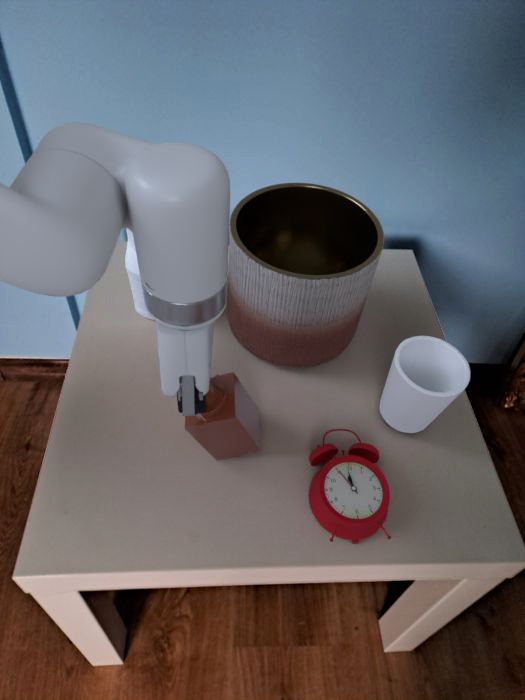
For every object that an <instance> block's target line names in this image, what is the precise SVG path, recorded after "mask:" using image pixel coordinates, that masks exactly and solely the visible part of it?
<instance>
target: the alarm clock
mask: <svg viewBox="0 0 525 700" xmlns="http://www.w3.org/2000/svg"><path fill="white" fill-rule="evenodd" d="M340 431H341V432H348V433H351V434H353V435H354V436H355V438H356V439H357V440H358V442H355V443H353V444H351V445H350V447H349V448H348V452H347V454H345V449H341V450H340V453H341V454H342V455H339V456H337V455H338V453H339V449H338V447H337V446H336V444H334V443H325V441H326V440H325V439H326V436H327V435H328V434H329V433H332V432H340ZM316 446H317V447H316V448H314V449H313V450H312V451H311V453H310V454H309V456H308V461H309V464H310V466H311V467H318V466H322V465H323V466H322V467H321V468H319V470H318V471H317V472H316V473H315V474H314V476H313V478H312V479H311V482H310V485H309V488H308V503H309V508H310V510H311V513H312V515H313V517H314V518H315V520H316V521H317V523H318V524H319V525H320V526H321V527H322V528H323V529H324V530H325V531H327V532H328V533H329V534H331V537H330V538H329V542H331V543H333V542H334V538H335V537H336V538H340V539H342V540H347V541H351V545H354V544H360V542H361V541H360V540H364V539H367V538H370V537H371V536H373V535H375V534H376V533H377V532H378V531H379V530H382V531H383V533H384V534H385V536H386V537H387V540H391V539H392V536H391V535H389V533H388V532H387V531H386V529H385V528H384V526H383V525H384V523H385V521H386V520H387V515H388V513H389V506H390V501H391V491H390V487H389V483H388V480H387V478H386V476H385V474H384V473H383V472H382V471H381V469H380V468H379V467H378V466H377V465H376V463H378V462H379V460H380V452H379V449H378V448H376V447H375V446H374V445H372V444H370V443H366V442H362V440H361V439H360V436H359V435H358V434H357V433H356V432H354V431H353V430H350V429H347V428H334V429H330V430H328V431H326V432H325V433H324V434H323V437H322V444H321V445H320V444H317V445H316ZM324 464H325V465H324Z"/></svg>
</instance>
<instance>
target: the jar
mask: <svg viewBox="0 0 525 700" xmlns="http://www.w3.org/2000/svg"><path fill="white" fill-rule="evenodd" d="M125 229H126V230H125V231H126V236H127V243H126V251H125V256H124V262H125V263H124V264H125V270H126V273H127V276H128V282H129V285H130V291H131V293H132V298H133V304H134V310H135V312H136V313H137V314H139V315H140V316H142V317H144V318H146V319H147V320H150V321H155V320H154V319H153V318H152V317H151V316H150V315H149V314H148V312H147V310H146V306H145V301H144V295H143V289H142V283H141V278H140V272H139V267H138V261H137V255H136V249H135V243H134V237H133V233H132V232H131V231H130V230H129V229H127V228H125Z"/></svg>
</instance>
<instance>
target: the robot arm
mask: <svg viewBox="0 0 525 700" xmlns="http://www.w3.org/2000/svg"><path fill="white" fill-rule="evenodd" d="M230 207H231V180H230V174H229V171H228V169H227V167H226V165H225V163H224V162H223V160H222V159H221V158H220V157H219V156H218V155H217V154H216V153H214V152H213V151H211V150H209V149H207V148H205V147H203V146H201V145H198V144H194V143H190V142H183V141H167V142H161V143H155V142H151V141H148V140H144V139H140V138H137V137H134V136H131V135H128V134H125V133H122V132H120V131H119V132H118V131H115V130H113V129H109V128H106V127H103V126H100V125H96V124H91V123H86V122H74V121H73V122H66V123H62V124H59V125H56V126H54V127H53V128H52V129H50V130H49V131H48V132H46V134H45V135H44V136H42V138H41V140H40V141H39V143H38V145H37V146H36V148H35V149H34V151H33V152H32V153H31V155H30V157H29V158H28V160H27V161H26V162H25V163H24V165H23V166H22V167H21V169H20V171H18V174H17V175H16V177H15V179H14V180H13V181H12V183H11V184H10V186H7V185H5V184H3V183H2V182H0V281H1V282H3V283H6V284H8V285H11V286H12V287H15V288H18V289H20V290H24V291H27V292H31V293H34V294H38V295H41V296H48V297H55V298H56V297H57V298H59V297H61V298H62V297H63V298H64V297H66V298H67V297H72V296H73V297H74V296H77V295H80V294H83V293H86V292H87V291H89V290H90V289H93V287H94V286H95V285H96V284H97V283H99V282H100V280H101V279H102V278H103V276H104V274H105V273H106V271H107V269H108V267H109V265H110V262H111V260H112V257H113V255H114V252H115V250H116V249H115V248H116V247H117V243H118V241H119V238H120V235H121V233H122V230H123V229H126V228H127V229H129V230H130V231H131V232H132V233H133V237H134V243H135V249H136V255H137V261H138V267H139V272H140V278H141V283H142V289H143V295H144V301H145V306H146V310H147V312H148V314H149V315H150V316H151V317H152V318H153V319H154V320H153V321H155V323H156V341H157V342H156V343H157V356H158V364H159V365H158V366H159V376H160V385H161V393H162V394H163V396H165V397H175V396H176V403H177V411H178V413H179V414H182V417H185V416H195V415H196V414H198V413H204V412H206V393H207V392H208V391H209V383H210V378H211V373H212V361H213V348H214V325H215V323H214V322H216V321H217V320H218V319H219V318H220V317H221V316H222V315H223V313H224V312H225V310H226V308H227V304H228V273H229V224H230V217H231V215H230V214H231V213H230V212H231V211H230V210H231V208H230ZM195 387H196V388H195Z"/></svg>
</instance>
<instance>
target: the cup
mask: <svg viewBox="0 0 525 700" xmlns="http://www.w3.org/2000/svg"><path fill="white" fill-rule="evenodd" d="M470 381H471V367H470V364H469V361H468V360H467V359H466V357H465V356H464V355H463V353H461V351H459V349H458V348H457V347H455V346H453V345H452V344H451V343H449V342H448V341H446V340H444V339H442V338H439V337H434V336H431V335H415V336H411V337H409V338H405V339H404V340H403V341H402V342H400V344H399V345H398V346H397V348H396V349H395V353H394V354H393V358H392V361H391V365H390V368H389V371H388V374H387V378H386V381H385V384H384V387H383V390H382V394H381V397H380V400H379V406H378V407H379V413H380V415H381V417H382V419H383V422H384V423H385V425H386V426H387V427H390V428H392V429H394V430H395V431H397V432H401V433H404V434H406V435H414V434H416V433H420V432H421V431H424V430H425V429H426V428H427V427H429V425H430V424H432V422H433V421H434V420H435V419H436V418H437V417H439V415H441V413H443V412H444V411H445V409H446V408H448V407H449V405H451V404H452V403H453V401H455V400H456V399H457V398H458V396H460V395H461V394H462V393H463V392H464V390H465V389H466V388H467V387H468V385H469V383H470Z"/></svg>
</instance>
